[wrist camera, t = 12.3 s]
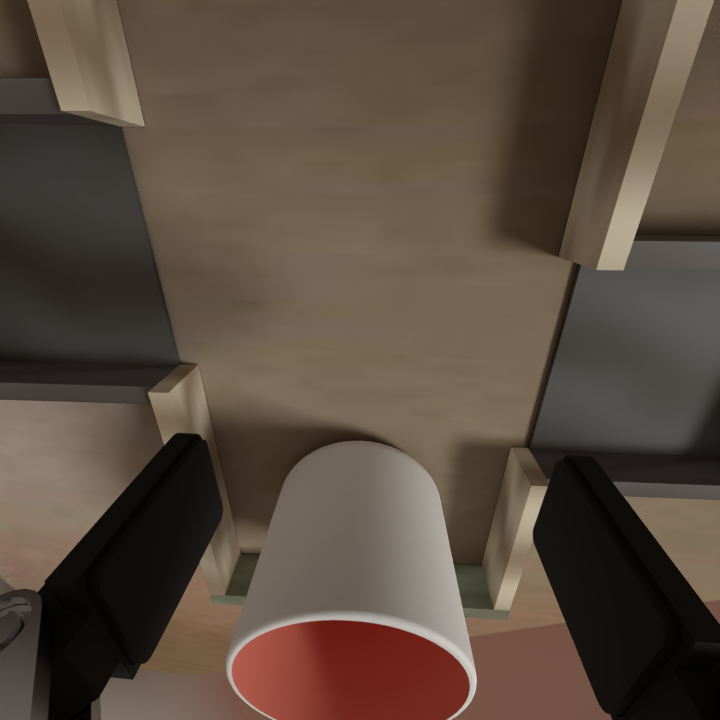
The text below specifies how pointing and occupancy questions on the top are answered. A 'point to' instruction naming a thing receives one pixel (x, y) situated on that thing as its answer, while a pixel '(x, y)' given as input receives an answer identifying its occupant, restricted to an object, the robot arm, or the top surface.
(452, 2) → the top surface
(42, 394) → the box
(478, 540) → the top surface
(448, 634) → the cup
